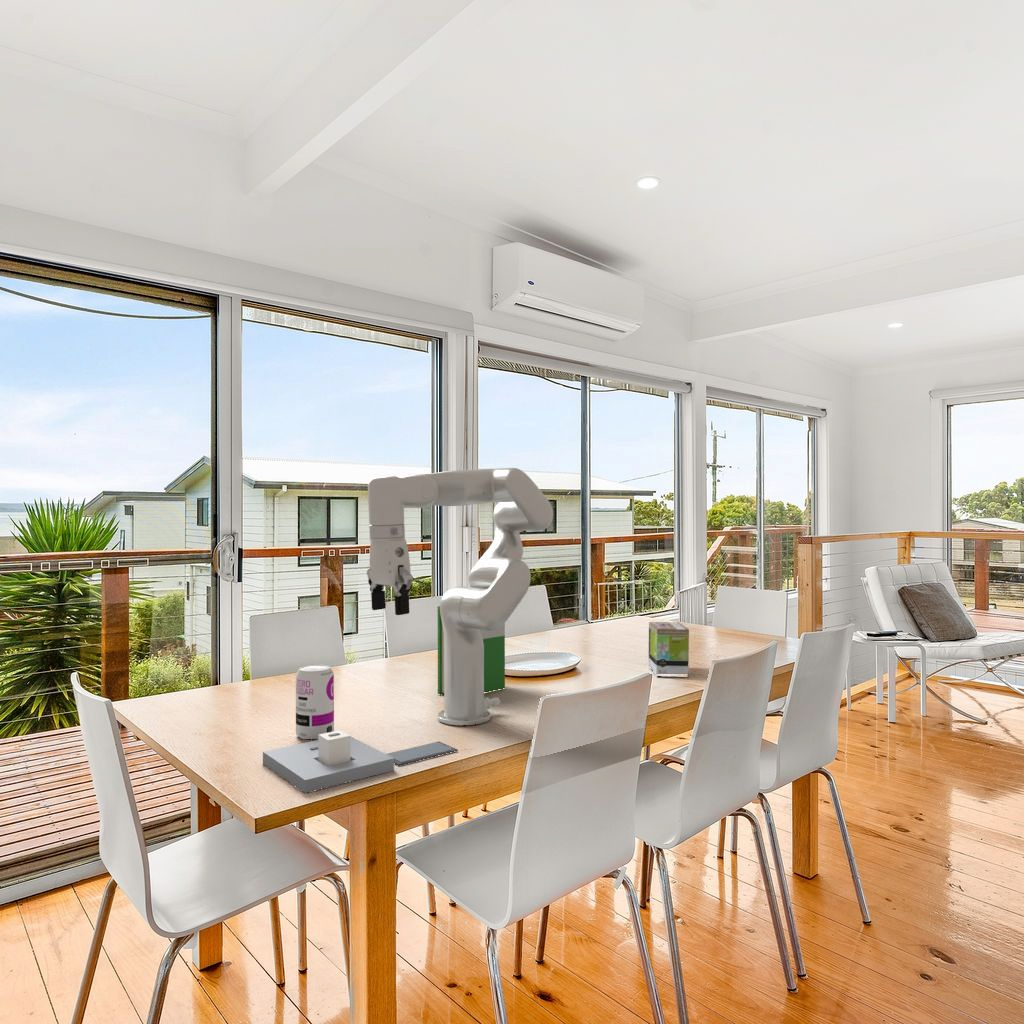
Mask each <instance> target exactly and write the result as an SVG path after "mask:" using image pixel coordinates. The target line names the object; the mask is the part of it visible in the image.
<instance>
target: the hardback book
mask: <svg viewBox="0 0 1024 1024" xmlns="http://www.w3.org/2000/svg"><path fill="white" fill-rule="evenodd" d="M505 624H506V622H505V623H504V624H503V625H502V626H501V627H500V628H498V629H496V630H481V629H479V630H480V633H481V635H482V638H483V643H484V692H489V691H493V690H498V689H503V688H505V689H506V685H505V684H506V670H505V669H506V639H505V637H506V635H505V634H506V631H505V630H506V626H505ZM438 694H444V632H443V625H442V620H441V615H440V605H439V606H437V695H438Z"/></svg>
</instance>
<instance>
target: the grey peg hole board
mask: <svg viewBox="0 0 1024 1024" xmlns="http://www.w3.org/2000/svg"><path fill="white" fill-rule="evenodd" d="M387 754H388V753H385V752H383V751H381V750H379V749H376V748H374V747H372V746H371V745H370V744H369V745H368V744H367V743H365V742H363V741H360V740H359V739H356V738H355V737H353V736H351V735H350V761H348V762H344V763H340V764H335V765H331V766H325V765H323V764H322V763H320V762H318V739H317V740H310V741H308V742H301V743H299V744H293V745H287V746H283V747H278V748H274V749H270V750H264V751H262V765H264V766H265V767H267V768H268V769H269V768H270V770H271V771H272V770H273V771H272V772H274V773H275V772H276V773H275V774H276V775H278V774H279V775H280V776H279V775H278V776H279V777H281V778H282V777H283V778H282V779H284V780H285V779H286V780H285V781H287V782H288V781H289V782H290V784H291V785H292V784H293V785H292V786H294V785H295V786H296V787H297V789H298V788H299V789H300V790H299V789H298V790H299V791H301V790H302V791H303V792H302V791H301V792H302V793H304V792H305V793H306V794H308V793H307V792H310V793H312V792H311V791H314V790H318V789H321V788H325V789H327V788H326V787H329V788H331V787H330V786H333V785H337V786H339V785H338V784H341V785H343V784H342V783H345V782H349V781H352V782H354V781H353V780H356V781H358V780H357V779H360V780H362V779H361V778H364V779H367V778H366V777H368V778H370V777H369V776H372V777H374V776H373V775H376V776H379V775H382V774H381V773H383V774H386V773H385V772H387V773H390V772H389V771H391V772H394V771H395V764H394V758H393V757H391V756H389V755H387ZM393 770H394V771H393ZM378 774H379V775H378ZM289 782H288V783H289ZM349 783H350V782H349ZM345 784H346V783H345ZM295 786H294V787H295ZM296 787H295V788H296ZM333 787H334V786H333ZM321 790H322V789H321ZM318 791H319V790H318ZM314 792H315V791H314ZM305 793H304V794H305Z"/></svg>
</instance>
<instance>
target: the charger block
mask: <svg viewBox="0 0 1024 1024" xmlns="http://www.w3.org/2000/svg"><path fill="white" fill-rule="evenodd" d="M350 736H351V735H350V734H348V733H346V732H345V731H342V730H334V731H333V732H329V733H324V734H319V735H318V739H317V740H318V762H320V763H322V764H323V765H325V766H331V765H335V764H340V763H344V762H348V761H350Z"/></svg>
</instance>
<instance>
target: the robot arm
mask: <svg viewBox="0 0 1024 1024" xmlns="http://www.w3.org/2000/svg"><path fill="white" fill-rule="evenodd" d="M367 498H368V499H367V500H368V501H367V502H368V503H367V504H368V523H369V524H368V525H369V527H368V528H369V541H370V548H369V569H367V570H366V575H367V579H368V582H367V583H368V585H369V591H370V592H371V593H370V594H371V595H370V597H371V599H370V600H371V610H372V611H377V610H384V609H386V607H387V606H386V591H385V590H384V588H385V587H392V588H393V590H394V593H395V594H396V595H395V596H394V612H395V613H394V614H395V615H396V616H401V615H402V616H403V615H407V614H408V615H409V614H410V595H411V590H412V588H413V587H412V584H413V580H414V576H413V574H412V573H411V561H410V554H409V548H408V544H407V539H406V532H405V531H406V529H405V527H406V526H405V509H424V508H428V507H430V506H434V507H435V506H440V507H461V506H472V505H481V504H482V505H483V504H492V503H493V504H494V503H497V504H496V505H495V506H494V509H493V516H492V517H493V519H492V520H493V526H494V527H493V529H494V538H493V541H492V543H491V544H490V545H489V547H488V549H487V550H485V552H483V555H482V556H481V557H480V558H479V559H478V561H477V562H476V563H475V564H474V565H473V567H472V568H471V570H470V572H469V575H468V583H469V586H455V587H451V588H449V589H448V590H447V591H445V592H444V594H443V595H442V597H441V599H440V601H439V603H440V604H439V606H440V615H441V620H442V625H443V632H444V695H443V696H444V697H443V699H444V702H443V703H444V704H443V705H444V707H443V708H444V709H442V710H441V711H440V712H439V713H437V720H438V721H439V722H441V723H443V724H445V725H450V726H459V727H460V726H461V727H462V726H463V725H466V726H475V724H476V725H480V724H484V723H486V722H488V721H489V720H490V719H491V712H490V711H489V710H488V709H490V708H491V707H496V706H499V705H500V704H501V700H500V698H499V697H493V698H489V697H485V694H484V643H483V638H482V635H481V633H480V630H479V629H481V630H496V629H498V628H500V627H501V626H502V625H503V624H504V623H505V624H506V622H507V620H509V618H510V617H511V615H512V614H513V613H514V612H515V610H516V609H517V607H518V606H519V605H520V603H521V602H522V600H523V598H524V597H525V596H526V594H527V593H528V591H529V588H530V584H531V579H532V577H531V570H530V568H529V566H528V564H527V563H526V562H525V561H524V560H522V558H523V554H524V546H523V542H522V539H521V535H520V532H521V531H522V532H523V531H524V532H539V531H540V532H542V531H544V530H546V529H548V528H549V527H550V526H551V524H552V522H553V519H554V509H553V506H552V504H551V503H550V501H549V499H548V498H547V497H546V496H545V494H544V493H543V491H541V489H540V488H539V487H538V486H537V485H536V483H535V482H534V481H533V480H532V478H531V477H530V476H528V474H527V473H526V472H524V471H523V470H521V469H520V468H517V467H503V468H502V467H500V468H499V467H498V468H481V469H480V468H478V469H458V470H457V469H455V470H447V471H440V472H433V473H431V472H430V473H421V474H420V473H419V474H400V475H399V474H398V475H383V476H382V475H379V476H377V475H376V476H372V477H370V478H369V479H368V481H367Z"/></svg>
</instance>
